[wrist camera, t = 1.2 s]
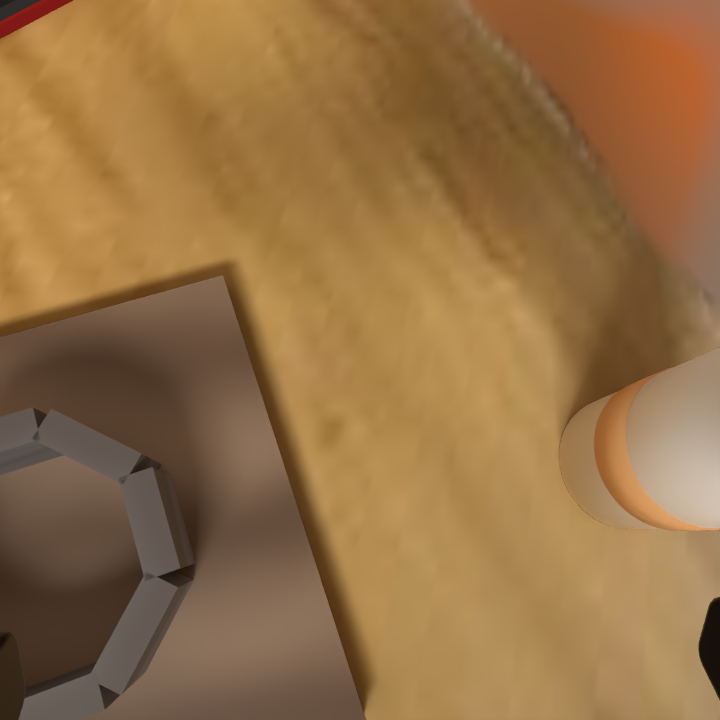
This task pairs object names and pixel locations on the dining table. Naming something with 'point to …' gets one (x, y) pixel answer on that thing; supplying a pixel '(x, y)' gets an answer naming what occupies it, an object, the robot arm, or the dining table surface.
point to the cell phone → (24, 12)
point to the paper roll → (650, 451)
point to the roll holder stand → (156, 525)
